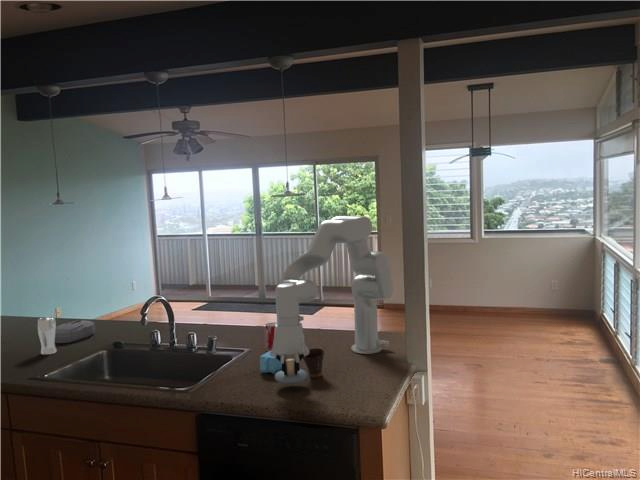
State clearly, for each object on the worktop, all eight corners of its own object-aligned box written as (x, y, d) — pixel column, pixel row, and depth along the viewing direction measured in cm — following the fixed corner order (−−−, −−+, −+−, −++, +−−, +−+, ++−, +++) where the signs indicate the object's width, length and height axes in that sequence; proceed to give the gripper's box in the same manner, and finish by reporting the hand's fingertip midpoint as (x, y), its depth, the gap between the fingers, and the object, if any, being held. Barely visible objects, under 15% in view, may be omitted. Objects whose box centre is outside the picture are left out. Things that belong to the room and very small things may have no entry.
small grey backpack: (74, 332, 251) (43, 344, 231) (73, 316, 250) (42, 326, 231) (100, 334, 247) (70, 345, 227) (99, 317, 246) (69, 327, 227)
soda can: (279, 355, 205) (278, 326, 204) (262, 354, 207) (261, 326, 206) (283, 350, 212) (282, 322, 211) (267, 349, 214) (266, 321, 213)
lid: (304, 369, 176) (303, 353, 176) (309, 381, 166) (308, 364, 165) (273, 372, 174) (272, 356, 174) (276, 384, 164) (275, 367, 163)
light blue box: (274, 364, 194) (273, 345, 194) (288, 366, 192) (287, 347, 191) (258, 374, 183) (257, 354, 183) (272, 376, 181) (272, 356, 180)
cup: (298, 379, 177) (297, 354, 176) (307, 371, 185) (306, 347, 184) (320, 382, 174) (319, 356, 173) (328, 374, 182) (327, 349, 181)
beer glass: (61, 351, 219) (59, 317, 217) (46, 356, 212) (44, 321, 211) (50, 349, 221) (48, 316, 220) (35, 354, 215) (33, 319, 214)
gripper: (312, 316, 172) (315, 368, 174) (264, 318, 172) (267, 370, 174) (312, 322, 164) (315, 376, 166) (262, 324, 164) (265, 378, 166)
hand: (290, 372), depth 170 cm, fingers closed on lid, 3 cm apart
